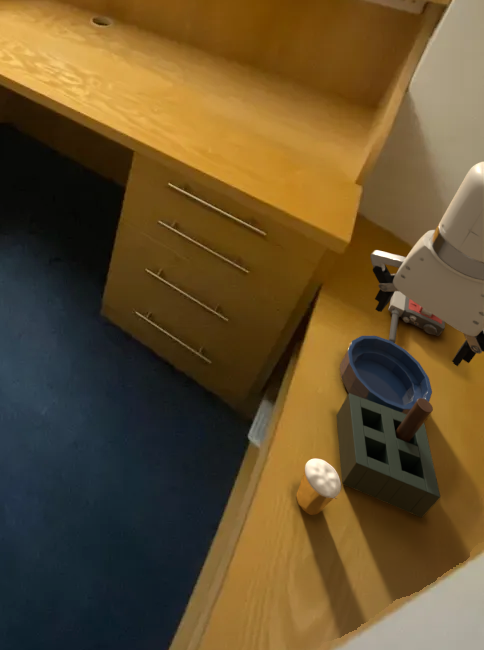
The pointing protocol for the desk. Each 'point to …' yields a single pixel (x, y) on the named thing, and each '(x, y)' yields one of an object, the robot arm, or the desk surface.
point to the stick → (414, 420)
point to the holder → (385, 457)
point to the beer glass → (317, 486)
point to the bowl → (384, 374)
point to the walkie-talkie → (412, 316)
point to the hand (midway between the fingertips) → (418, 330)
